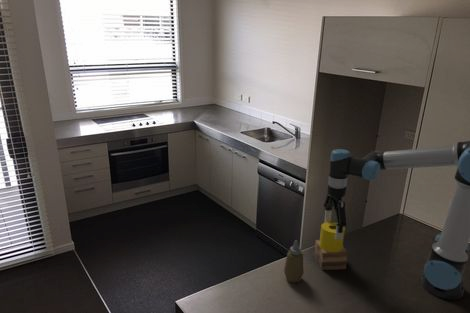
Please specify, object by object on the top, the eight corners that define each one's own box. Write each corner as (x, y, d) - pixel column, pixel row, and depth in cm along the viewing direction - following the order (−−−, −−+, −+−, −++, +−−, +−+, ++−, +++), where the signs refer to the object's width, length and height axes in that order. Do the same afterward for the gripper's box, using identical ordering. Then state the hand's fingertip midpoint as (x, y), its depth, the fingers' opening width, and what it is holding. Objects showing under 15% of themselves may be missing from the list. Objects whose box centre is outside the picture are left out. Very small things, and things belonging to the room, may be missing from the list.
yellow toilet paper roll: (314, 243, 163) (316, 224, 160) (331, 238, 167) (334, 220, 165) (329, 254, 155) (331, 234, 152) (347, 249, 159) (349, 230, 156)
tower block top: (346, 261, 158) (347, 252, 157) (322, 262, 157) (323, 253, 156) (337, 247, 168) (338, 239, 167) (314, 248, 167) (315, 240, 166)
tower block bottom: (345, 270, 159) (346, 261, 158) (321, 270, 158) (322, 261, 157) (336, 256, 170) (337, 247, 168) (314, 256, 169) (314, 248, 167)
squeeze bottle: (306, 278, 152) (310, 241, 146) (295, 287, 146) (299, 248, 141) (290, 270, 157) (293, 233, 152) (279, 278, 151) (282, 240, 146)
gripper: (358, 197, 141) (352, 245, 147) (335, 175, 165) (330, 217, 171) (339, 197, 140) (334, 245, 146) (319, 176, 164) (315, 218, 170)
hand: (332, 230), depth 158 cm, fingers open, 13 cm apart
